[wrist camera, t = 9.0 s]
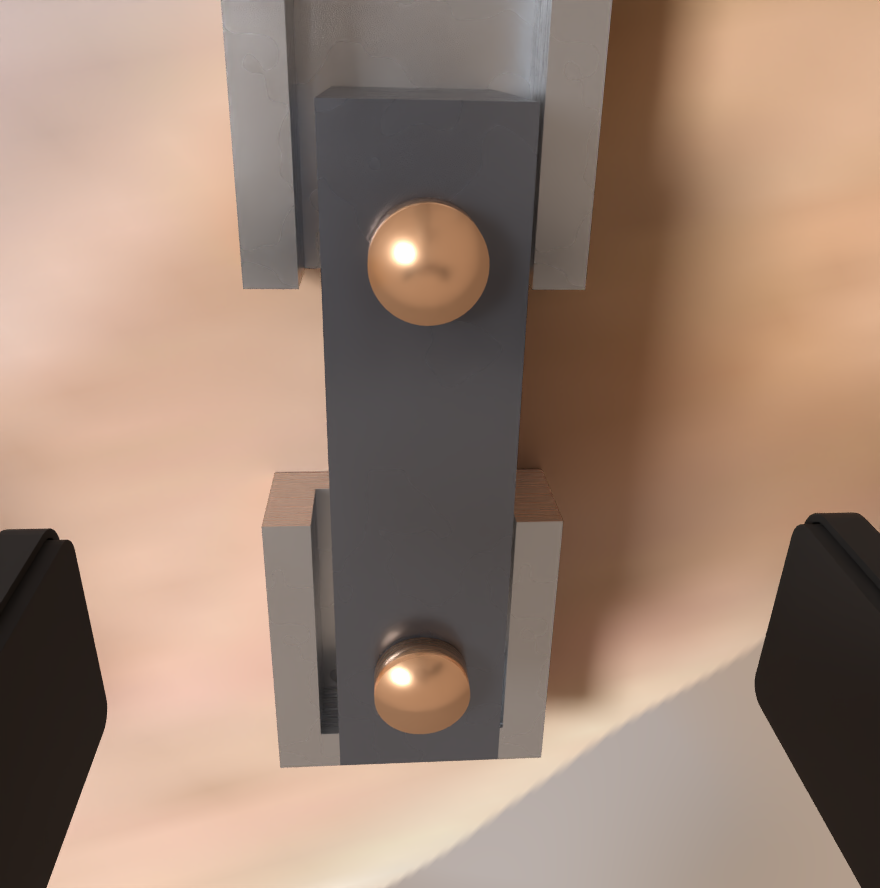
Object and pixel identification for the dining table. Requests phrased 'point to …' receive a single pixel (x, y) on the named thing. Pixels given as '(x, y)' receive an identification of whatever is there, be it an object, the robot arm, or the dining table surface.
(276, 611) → the end link
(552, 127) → the end link
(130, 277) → the dining table surface
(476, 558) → the link bar
